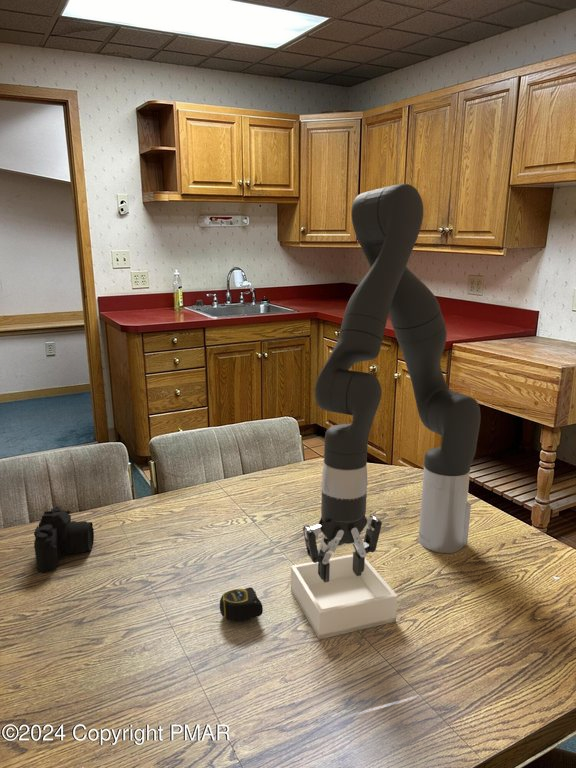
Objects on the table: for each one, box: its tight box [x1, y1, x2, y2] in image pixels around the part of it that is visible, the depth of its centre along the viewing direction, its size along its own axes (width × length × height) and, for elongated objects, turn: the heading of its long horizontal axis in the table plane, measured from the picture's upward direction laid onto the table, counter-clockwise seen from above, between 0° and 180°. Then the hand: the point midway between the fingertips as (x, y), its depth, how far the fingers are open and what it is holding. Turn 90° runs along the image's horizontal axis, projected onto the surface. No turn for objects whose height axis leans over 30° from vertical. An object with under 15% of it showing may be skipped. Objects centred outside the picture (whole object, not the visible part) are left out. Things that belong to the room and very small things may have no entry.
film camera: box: [33, 506, 95, 574], centre depth 115 cm, size 15×10×9 cm, turn 8°
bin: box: [290, 553, 398, 640], centre depth 100 cm, size 14×14×5 cm
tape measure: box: [219, 587, 264, 623], centre depth 97 cm, size 7×7×4 cm
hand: (340, 576), depth 99 cm, fingers open, 5 cm apart
